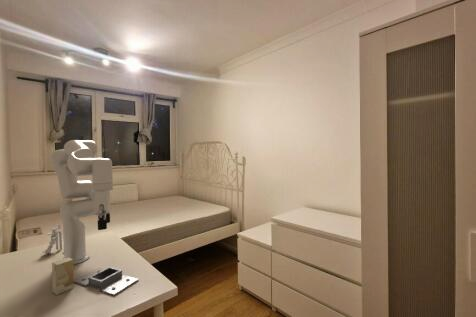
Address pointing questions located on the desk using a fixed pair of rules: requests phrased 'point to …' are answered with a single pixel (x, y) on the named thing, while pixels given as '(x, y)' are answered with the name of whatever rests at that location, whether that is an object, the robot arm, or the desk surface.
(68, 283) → the skincare box
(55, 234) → the clamp
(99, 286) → the hinge base
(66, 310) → the desk surface
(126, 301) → the desk surface
